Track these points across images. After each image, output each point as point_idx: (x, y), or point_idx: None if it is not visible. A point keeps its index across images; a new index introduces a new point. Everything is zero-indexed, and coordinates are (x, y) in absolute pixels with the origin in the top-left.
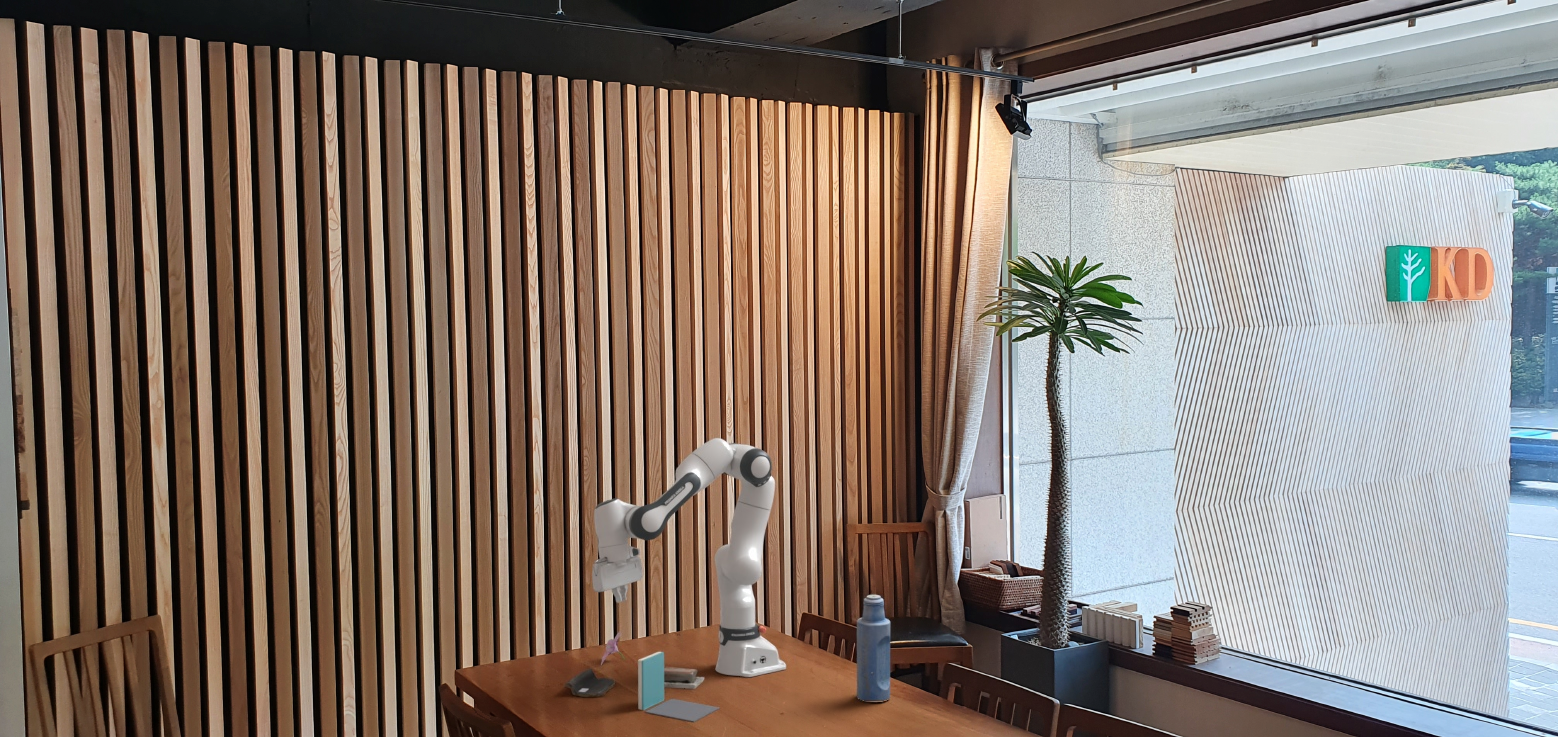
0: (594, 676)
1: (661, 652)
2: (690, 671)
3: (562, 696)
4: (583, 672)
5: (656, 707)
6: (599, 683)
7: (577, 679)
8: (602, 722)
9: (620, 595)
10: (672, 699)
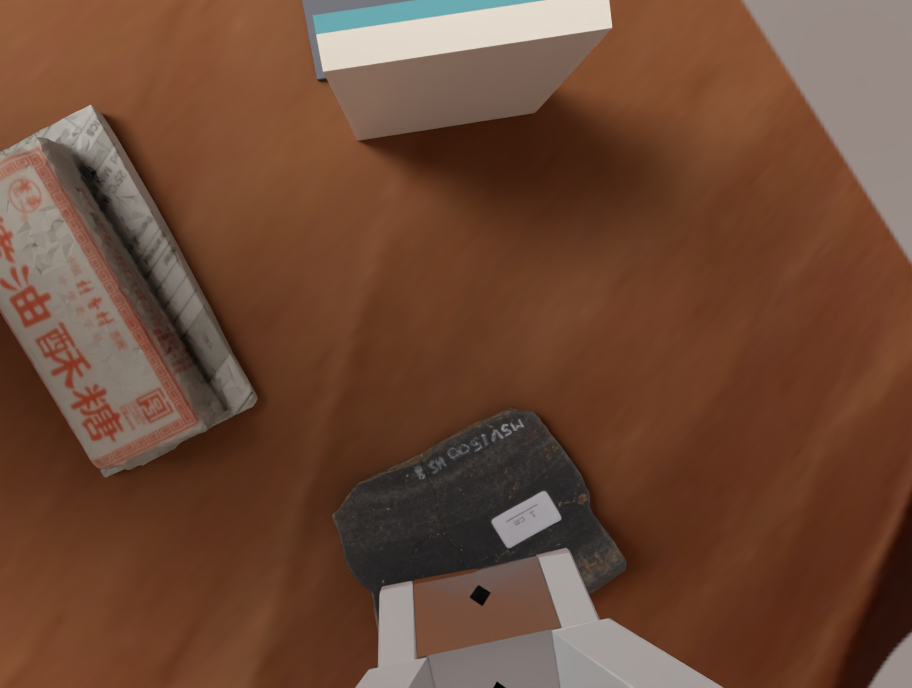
0: None
1: (330, 32)
2: (26, 165)
3: (621, 545)
4: None
5: None
6: (408, 538)
7: None
8: (776, 107)
9: (590, 630)
10: None
